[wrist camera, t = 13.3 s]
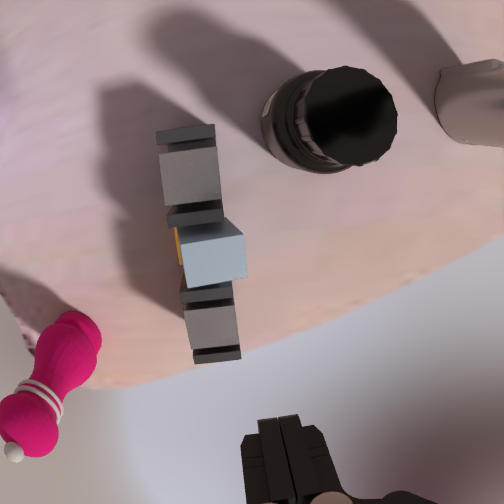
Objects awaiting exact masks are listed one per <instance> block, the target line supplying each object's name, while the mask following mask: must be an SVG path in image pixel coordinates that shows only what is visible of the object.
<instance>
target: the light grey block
mask: <svg viewBox="0 0 504 504" xmlns="http://www.w3.org/2000/svg"><path fill="white" fill-rule="evenodd" d="M176 228H177V234H178V241H179V247H180V253H181V259H182V264H183V269H184V274H185V278H186V283H187V287H188V288H192V287H198V286H204V285H209V284H215V283H220V282H225V281H231V280H236V279H242V278H247V277H248V272H247V262H246V252H245V242H244V234H243V233H242V232H241V231H240V230H239V229H238V228H236V227H235V226H234V225H233V224H232V223H231V222H230V221H229V220H228V219H227V218H226V217H225V218H224V221H222V222H214V223H205V224H197V225H189V226H181V227H176Z"/></svg>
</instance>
